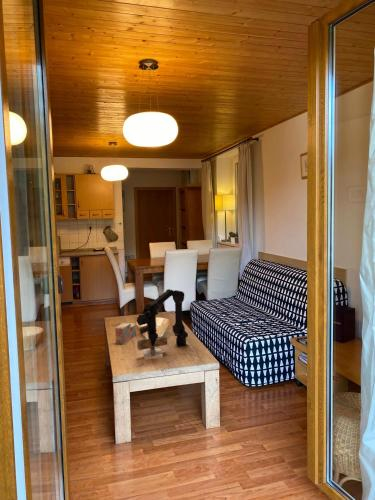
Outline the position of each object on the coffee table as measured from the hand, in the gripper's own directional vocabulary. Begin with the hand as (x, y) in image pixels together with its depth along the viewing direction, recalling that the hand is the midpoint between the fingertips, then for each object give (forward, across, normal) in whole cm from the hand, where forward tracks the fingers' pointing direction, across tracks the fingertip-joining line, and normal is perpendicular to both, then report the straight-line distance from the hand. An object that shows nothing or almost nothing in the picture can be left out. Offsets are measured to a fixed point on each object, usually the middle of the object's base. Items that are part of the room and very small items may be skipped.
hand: (152, 344), depth 265 cm
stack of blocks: (+8, -36, -17) cm, 41 cm away
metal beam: (+1, 0, 0) cm, 1 cm away
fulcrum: (+7, 0, 0) cm, 7 cm away
